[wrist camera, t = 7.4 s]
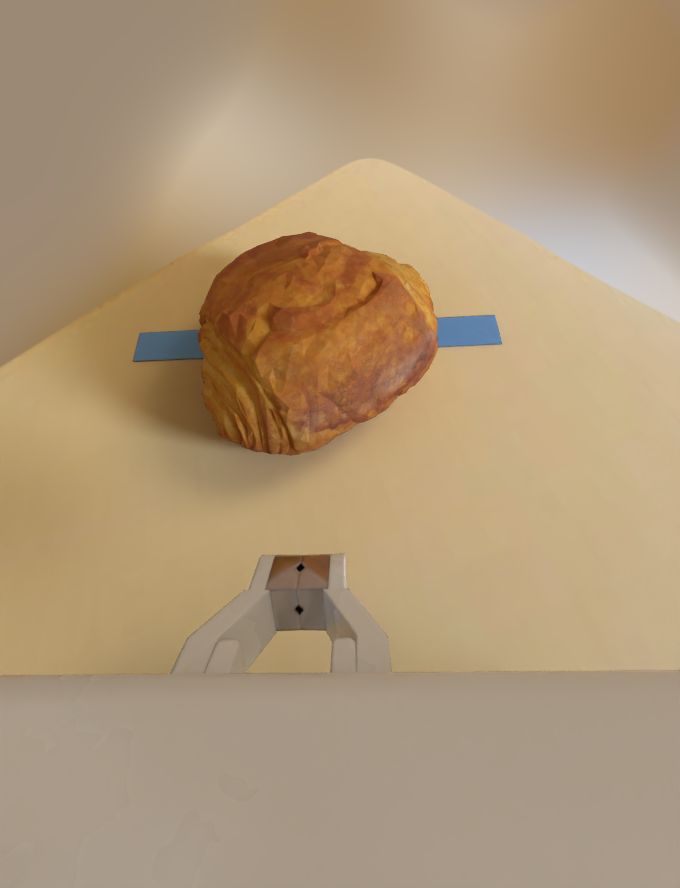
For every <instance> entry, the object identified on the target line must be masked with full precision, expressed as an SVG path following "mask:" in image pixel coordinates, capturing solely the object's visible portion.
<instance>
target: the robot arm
mask: <svg viewBox="0 0 680 888" xmlns="http://www.w3.org/2000/svg"><path fill="white" fill-rule="evenodd" d="M292 630H323V631H327V633H328V635H329V637H330V639H331V641H332V654H331V669H330V673H246V671H247V669H248V668H249V667H250V666H251V664H252V663H253V662H254V660H255V659H256V658H257V657H258V655H259V654H260V653H261V652H262V650H263V649H264V648H265V646H266V645H267V644H268V643H269V641H270V640H271V639H272V638H273V636H274V635H275V634H276V631H292ZM0 888H680V670H620V671H488V672H392V670H391V661H390V653H389V644H388V636H387V635H386V634H385V632H384V631H383V630H382V629H381V627H380V626H379V625H378V624H377V623H376V621H375V620H374V619H373V618H372V616H371V615H370V614H369V613H368V611H367V610H366V609H365V608H364V607H363V605H362V604H361V603H360V602H359V600H358V599H357V598H356V597H355V595H354V594H353V593H352V592H351V590H350V589H349V588H347V585H346V562H345V554H344V553H340V554H319V555H262V556H261V557H260V558H259V561H258V564H257V567H256V570H255V573H254V575H253V578H252V581H251V584H250V587H249V590H244V591H243V592H241V593H240V594H239V595H238V596H237V597H236V598H234V599H233V600H232V601H231V602H230V603H228V604H227V605H226V606H225V607H224V608H222V609H221V610H220V611H219V612H218V613H216V614H215V615H214V616H213V617H212V618H210V619H209V620H208V621H207V622H206V623H205V624H203V625H202V626H201V627H200V628H199V629H197V630H196V631H195V632H194V633H193V634H191V635H190V636H189V637H188V638H187V640H186V642H185V644H184V646H183V648H182V650H181V652H180V654H179V656H178V658H177V660H176V663H175V665H174V667H173V669H172V671H171V673H170V674H94V675H0Z"/></svg>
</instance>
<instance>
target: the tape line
mask: <svg viewBox="0 0 680 888" xmlns="http://www.w3.org/2000/svg"><path fill="white" fill-rule="evenodd" d="M436 319H437V321H438V327H437V334H436V336H437V337H438V347H446V346H467V345H488V344H502V341H501V337H500V333H499V330H498V326H497V322H496V318H495V315H488V316H468V317H448V318H436ZM199 331H200V330H188V331H168V332H148V333H140V335H139V339H138V343H137V347H136V351H135V355H134V359H133V361H151V360H172V359H193V358H204V354H203V353H202V351H201V349H200V347H199V342H198V332H199Z"/></svg>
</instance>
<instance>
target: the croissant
mask: <svg viewBox="0 0 680 888" xmlns="http://www.w3.org/2000/svg"><path fill="white" fill-rule="evenodd" d="M199 314H200V320H199V321H200V324H201V326H202V328H201V329H200V331H199V332H198V342H199V347H200V349H201V351H202V353H203V354H204V359H203V363H202V378H203V380H204V381H203V383H204V388H203V392H202V395H203V397H204V401H205V405H206V407H207V408H208V410H209V411H210V412H211V414H212V416H213V419H214V421H215V422H216V424H217V430H218V434H219V435H220V436H221V437H223V438H228V439H230V440H231V441H233V442H236V443H240V444H241V445H242V447H245V448H247V449H250V450H252V451H256V452H266V453H269V454H287V455H299V454H301V453H304V452H308V451H313V450H316V449H318V448H320V447H322V446H323V445H325V444H327V443H328V442H330V441H331V440H332V439H333V438H335V437H336V436H338V435H339V434H342V433H344V432H346V431H348V430H350V429H351V428H352V427H353V426H355V425H356V424H357V423H360V422H365V421H367V420H369V419H371V418H373V417H375V416H376V415H378V414H380V413H381V412H383V411H384V410H386V409H387V408H388V407H389V406H390V405H391V404H392V402H393V401H394V400H395V399H396V398H397V396H400V395H402V394H404V393H406V392H407V390H408V389H409V388H410V387H412V386H414V385H415V384H416V383H417V382H418V381H419V380H420V379H421V378H422V376H423V375H424V374H425V373H426V371H427V370H428V369H429V367H430V365H431V363H432V361H433V359H434V357H435V355H436V353H437V349H438V337H437V336H436V334H437V327H438V321H437V319H436V316H435V314H434V313H433V303H432V300H431V298H430V291H429V287H428V286H427V284H426V283H425V282H424V280H423V279H422V278H421V276H420V275H419V274H418V273H417V271H416V270H415V269H414V268H413V267H412V266H410V265H408V264H399V263H397V262H396V261H395V260H394V259H392V258H390V257H388V256H387V255H383V254H378V253H373V252H368V251H360V250H358V249H356V248H353V247H351V246H348V245H345V244H342V243H341V242H340V241H339V240H337V239H333V238H329V237H325V236H320V235H317V234H316V233H312V232H306V233H303V234H297V235H291V236H282V237H280V238H277V239H275V240H273V241H270V242H267V243H264V244H261V245H259V246H256V247H255V248H252V249H250V250H248V251H246V252H244V253H243V254H241V255H240V256H238V257H237V258H236V259H235V260H234V261H233V262H231V263H230V264H229V265H227V266H226V267H225V268H224V269H223V270H222V271H221V272H220V273H218V274H217V275H216V277H215V279H214V281H213V283H212V285H211V288H210V290H209V292H208V295H207V297H206V299H205V302H204V304H203V305H202V308H201V310H200V313H199Z"/></svg>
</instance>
